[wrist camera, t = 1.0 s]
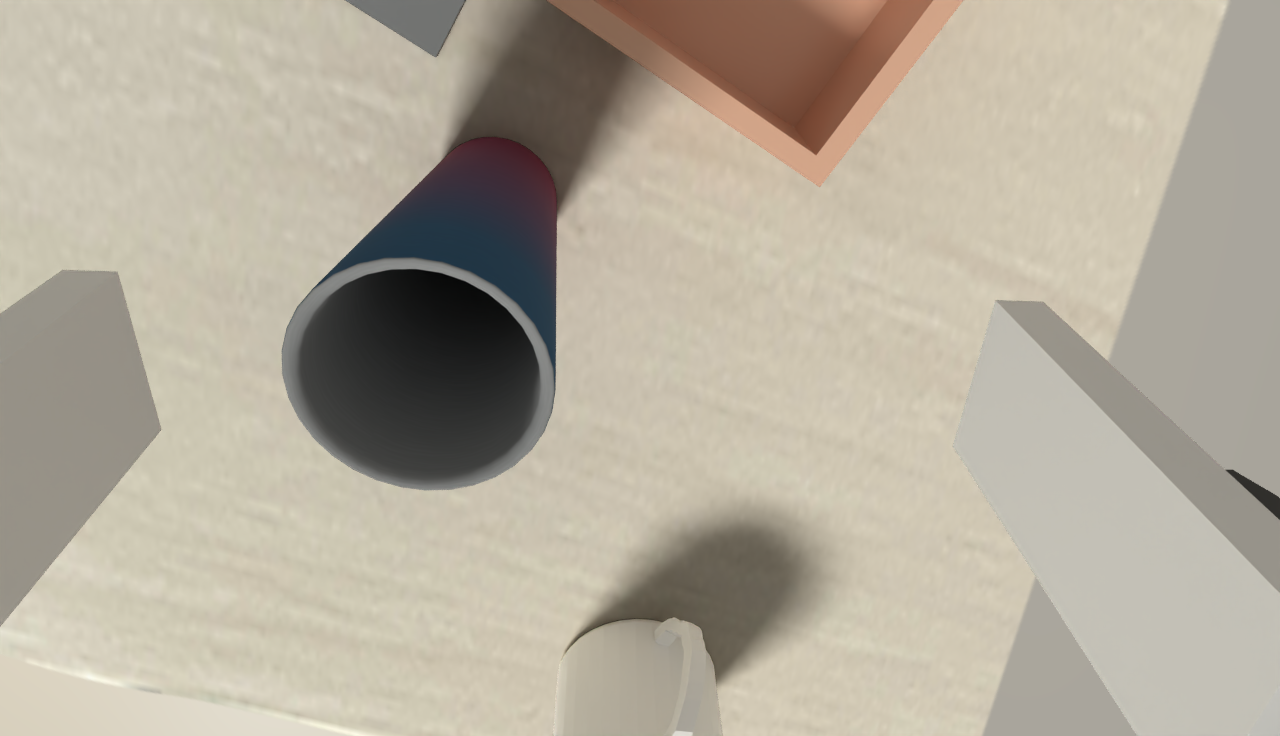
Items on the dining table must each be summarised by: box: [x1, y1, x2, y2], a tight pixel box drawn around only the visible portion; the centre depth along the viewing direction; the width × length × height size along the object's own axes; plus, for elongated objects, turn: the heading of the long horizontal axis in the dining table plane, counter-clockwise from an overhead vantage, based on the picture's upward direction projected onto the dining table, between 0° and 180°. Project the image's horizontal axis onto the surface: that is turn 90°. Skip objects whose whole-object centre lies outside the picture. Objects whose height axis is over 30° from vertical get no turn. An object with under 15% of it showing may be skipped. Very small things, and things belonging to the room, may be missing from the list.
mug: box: [553, 617, 723, 736], centre depth 43 cm, size 12×9×9 cm
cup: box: [282, 137, 557, 490], centre depth 27 cm, size 7×7×15 cm
